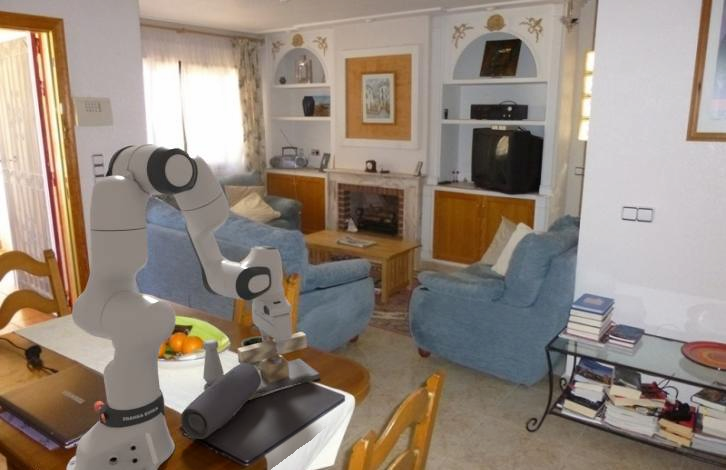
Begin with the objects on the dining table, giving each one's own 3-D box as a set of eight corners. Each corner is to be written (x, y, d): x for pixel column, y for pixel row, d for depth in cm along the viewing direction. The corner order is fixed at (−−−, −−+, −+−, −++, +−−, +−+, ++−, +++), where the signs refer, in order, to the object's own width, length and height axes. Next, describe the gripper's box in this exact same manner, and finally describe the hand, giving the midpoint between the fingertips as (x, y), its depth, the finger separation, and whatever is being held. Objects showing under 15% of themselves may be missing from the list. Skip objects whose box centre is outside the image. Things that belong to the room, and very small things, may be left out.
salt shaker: (218, 387, 156) (214, 345, 153) (200, 386, 157) (195, 344, 154) (227, 378, 161) (223, 337, 159) (210, 377, 162) (205, 336, 160)
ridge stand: (248, 401, 148) (245, 373, 146) (231, 383, 158) (229, 357, 157) (319, 378, 159) (318, 352, 157) (299, 362, 170) (298, 338, 168)
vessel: (256, 350, 180) (255, 332, 179) (279, 354, 177) (277, 336, 175) (233, 365, 170) (231, 346, 169) (256, 370, 166) (255, 351, 165)
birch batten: (242, 365, 151) (241, 352, 150) (238, 361, 154) (237, 348, 153) (306, 347, 162) (306, 334, 161) (302, 344, 164) (301, 331, 163)
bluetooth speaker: (236, 392, 151) (230, 359, 148) (265, 396, 147) (260, 362, 145) (182, 441, 130) (175, 403, 128) (214, 446, 127) (207, 408, 124)
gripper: (244, 294, 161) (248, 338, 164) (273, 313, 144) (276, 361, 147) (264, 290, 164) (268, 333, 167) (294, 308, 147) (297, 355, 150)
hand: (272, 346), depth 157 cm, fingers open, 8 cm apart
